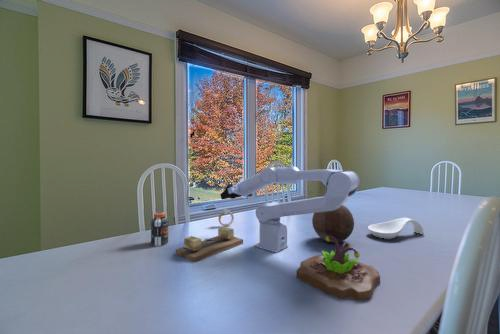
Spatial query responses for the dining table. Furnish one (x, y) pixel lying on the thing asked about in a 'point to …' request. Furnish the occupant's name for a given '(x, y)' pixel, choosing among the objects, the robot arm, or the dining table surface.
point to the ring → (224, 213)
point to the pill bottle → (159, 229)
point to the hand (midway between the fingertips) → (228, 196)
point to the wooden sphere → (334, 224)
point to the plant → (339, 273)
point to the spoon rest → (393, 228)
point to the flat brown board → (206, 247)
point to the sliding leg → (226, 232)
